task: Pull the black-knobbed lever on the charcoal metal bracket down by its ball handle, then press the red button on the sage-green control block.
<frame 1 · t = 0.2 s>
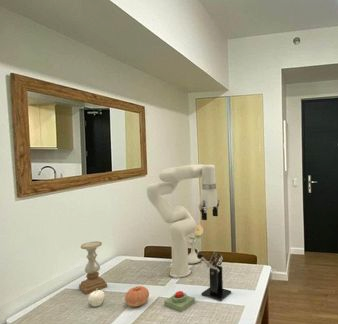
hand: (209, 217, 151), 36 cm above the table, tool pointing down, fingers open, 9 cm apart
candle holder: (93, 287, 150), on the table
control block: (179, 304, 132), on the table
lever: (207, 263, 142), point 15 cm above the table, hinge at 30.0°
bracket: (216, 294, 140), on the table
orange pumpkin: (137, 304, 132), on the table
flower in vase: (194, 261, 183), on the table
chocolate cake: (215, 264, 179), on the table
button: (179, 294, 131), point 5 cm above the table, slide at 0.2 cm
plain white apple: (97, 304, 133), on the table
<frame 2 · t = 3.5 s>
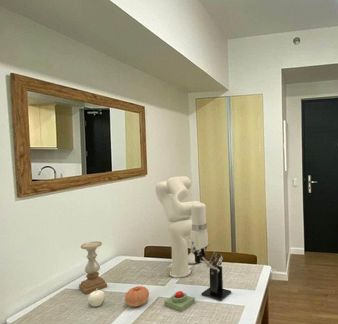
hand: (200, 261, 145), 15 cm above the table, tool pointing down, fingers closed on lever, 3 cm apart
lever: (207, 263, 142), point 15 cm above the table, hinge at 30.0°, touching gripper
everything else where it was.
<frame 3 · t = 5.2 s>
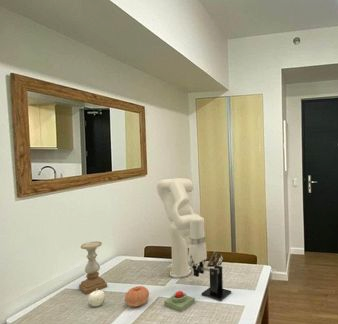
hand: (198, 274, 146), 8 cm above the table, tool pointing down, fingers closed on lever, 3 cm apart
lever: (206, 269, 143), point 11 cm above the table, hinge at -4.9°, touching gripper
everything else where it was.
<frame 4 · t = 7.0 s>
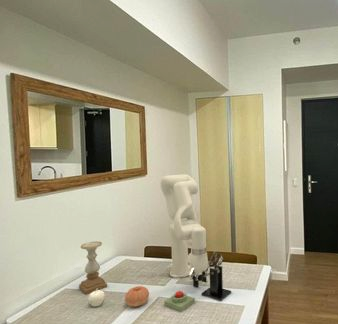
hand: (200, 284, 146), 3 cm above the table, tool pointing down, fingers open, 5 cm apart
lever: (207, 274, 143), point 9 cm above the table, hinge at -28.9°
everything else where it was.
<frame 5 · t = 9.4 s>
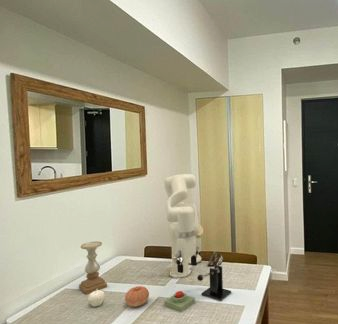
hand: (187, 268, 136), 15 cm above the table, tool pointing down, fingers open, 9 cm apart
nothing on the table moved.
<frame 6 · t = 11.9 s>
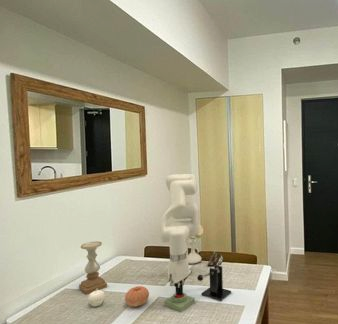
hand: (179, 294, 131), 5 cm above the table, tool pointing down, fingers closed
button: (179, 295, 132), point 4 cm above the table, slide at -0.4 cm, touching gripper
everything else where it was.
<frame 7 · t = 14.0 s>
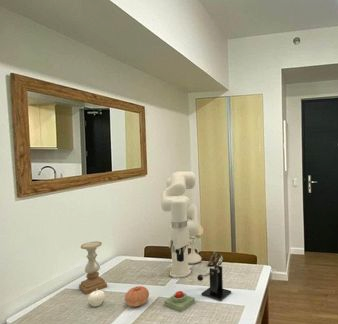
hand: (180, 260, 135), 19 cm above the table, tool pointing down, fingers closed
button: (179, 294, 131), point 5 cm above the table, slide at 0.2 cm
everything else where it was.
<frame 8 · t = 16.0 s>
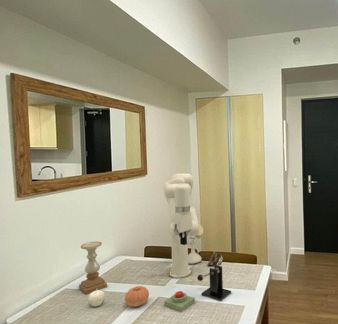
hand: (183, 244, 142), 25 cm above the table, tool pointing down, fingers closed
nothing on the table moved.
at the end: lever at -29° (first picture: +30°); button pushed in 1.1 cm at the most during the clip, back to 0.2 cm at the end; button slide at 0.2 cm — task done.
